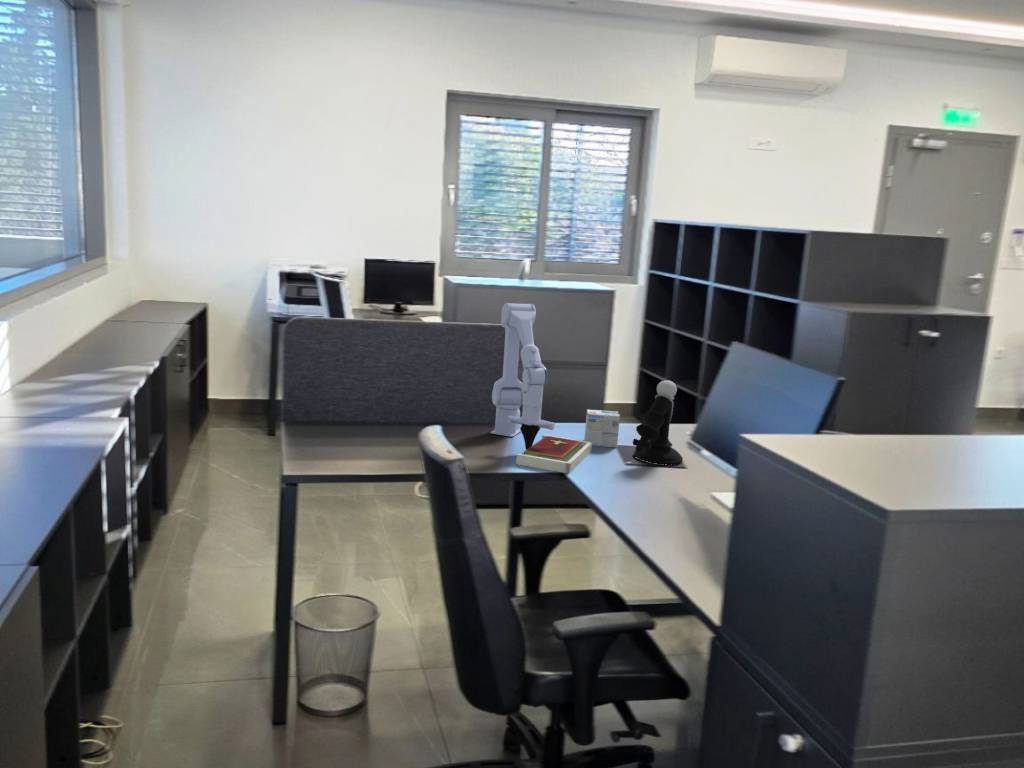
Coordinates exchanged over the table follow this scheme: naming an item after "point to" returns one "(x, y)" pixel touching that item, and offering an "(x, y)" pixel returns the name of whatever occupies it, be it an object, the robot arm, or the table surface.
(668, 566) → the table surface
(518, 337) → the robot arm
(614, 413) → the light bulb box
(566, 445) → the hardcover book
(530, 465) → the document bay
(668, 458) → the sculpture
